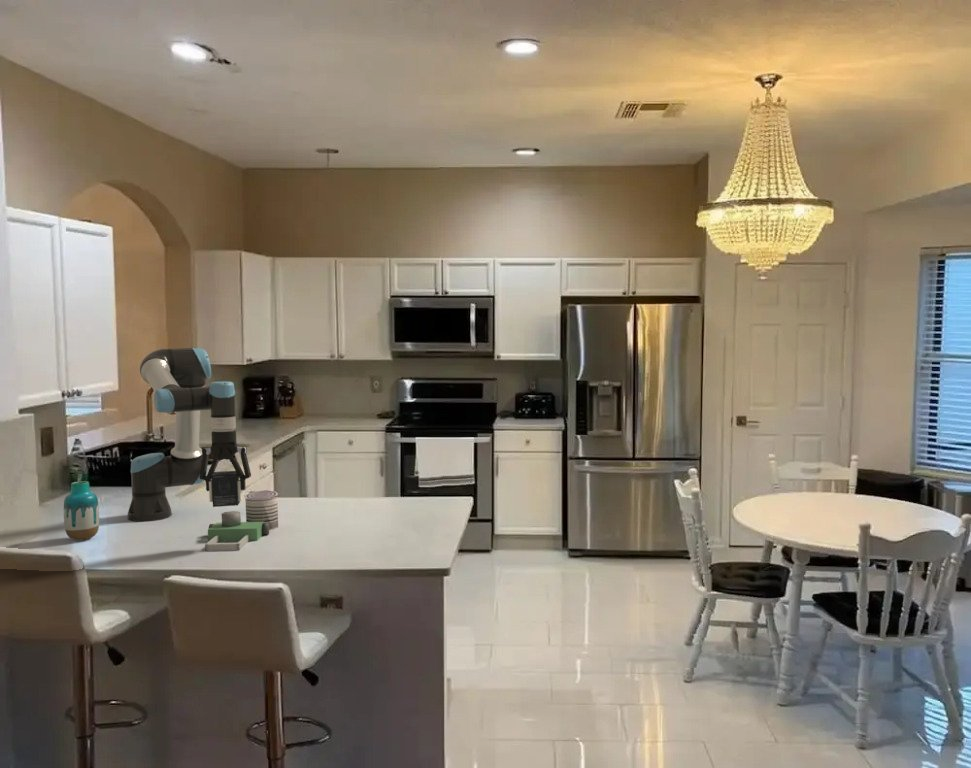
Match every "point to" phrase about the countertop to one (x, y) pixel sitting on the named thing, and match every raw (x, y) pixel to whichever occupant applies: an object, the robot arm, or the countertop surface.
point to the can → (262, 507)
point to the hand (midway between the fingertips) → (226, 500)
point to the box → (225, 488)
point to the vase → (81, 512)
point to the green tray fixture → (234, 532)
